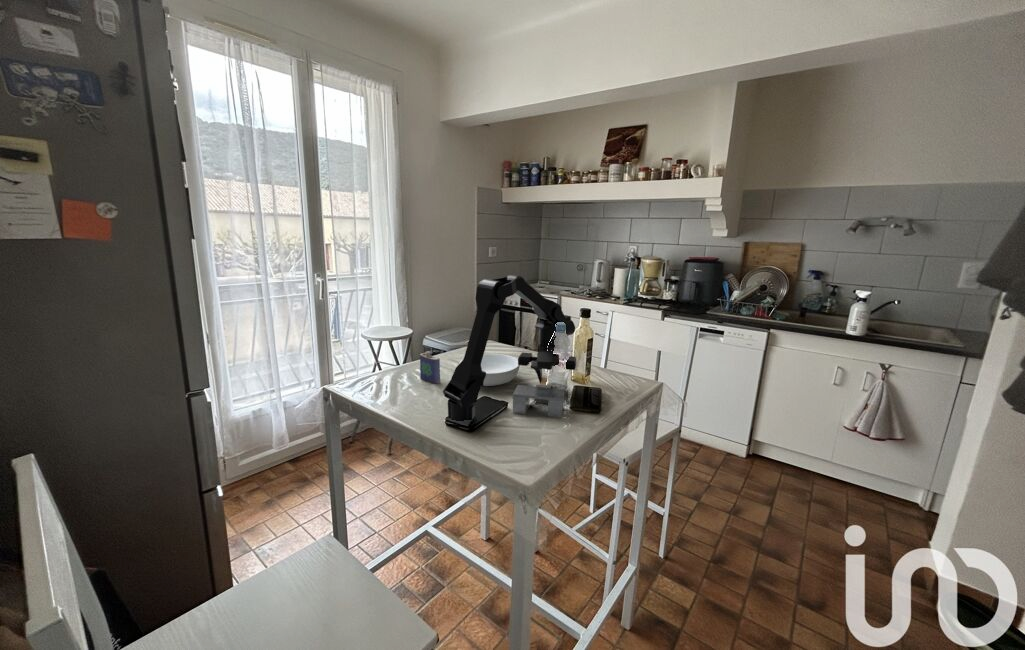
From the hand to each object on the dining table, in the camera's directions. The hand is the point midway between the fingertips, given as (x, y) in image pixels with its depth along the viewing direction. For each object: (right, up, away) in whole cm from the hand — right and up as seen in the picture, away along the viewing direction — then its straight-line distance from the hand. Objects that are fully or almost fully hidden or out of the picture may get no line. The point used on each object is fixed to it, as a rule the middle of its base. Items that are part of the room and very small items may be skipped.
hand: (546, 385), depth 135 cm
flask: (-40, +1, +5) cm, 40 cm away
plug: (-1, -2, -4) cm, 5 cm away
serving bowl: (-19, 0, +6) cm, 20 cm away
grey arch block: (-4, -5, -16) cm, 17 cm away
